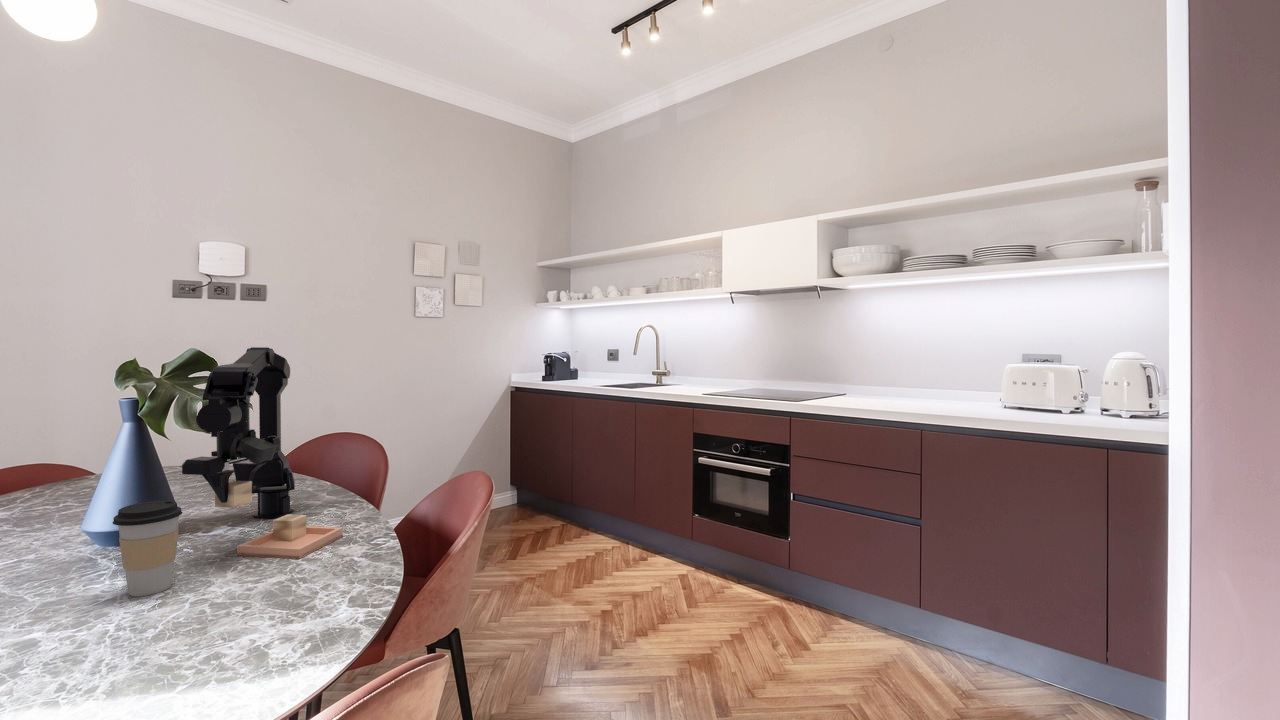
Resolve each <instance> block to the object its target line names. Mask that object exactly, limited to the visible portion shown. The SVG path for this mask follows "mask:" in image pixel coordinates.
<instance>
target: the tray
mask: <svg viewBox="0 0 1280 720" xmlns="http://www.w3.org/2000/svg"><path fill="white" fill-rule="evenodd" d="M343 535H344V528H343V527H334V526H333V527H332V526H331V527H330V526H312V525H306V535H305V536H303V537H300V538H298V539H296V540H294V541H275V540H273V530H272V531H270V532H267V533H265V534H263V535H260V536H257V537H256V538H253V539H250V540H248V541H246V542H244V543H241V544H238V545H237V548H236V550H237V551H236V552H237V553H236V555H237V556H240V557H255V558H257V557H258V558H276V559H278V558H279V559H289V560H290V559H292V560H293V559H294V560H301V559H302V558H304V557H306V556H308V555H310V554H312V553H314V552H315V551H317V550H319V549H321V548H323V547H325V546H327V545H329V544H331V543H333V542H335V541H337V540H339V539H341V538H343Z"/></svg>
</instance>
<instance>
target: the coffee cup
mask: <svg viewBox="0 0 1280 720" xmlns="http://www.w3.org/2000/svg"><path fill="white" fill-rule="evenodd" d="M182 514H183V511H182V507H180V506H178V502H177V501H175V500H154V501H153V500H152V501H145V502H139V503H134V504H129V505H126V506H123V507H121V508H119V509H118V510H117V515H115V516H114V517H113V521H112V525H115V526H117V527H118V532H119V536H118V540H119V542H118V543H119V549H120V553H121V561H122V567H123V569H124V575H125V580H126V586H127V592H128V595H129V596H131V597H145V596H151V595H155V594H158V593H161V592H163V591H166V590H168V589H170V588H171V587H172V584H173V583H172V581H173V574H174V564H175V560H176V556H177V547H178V539H179V530H180V528H179V520H180V516H181V515H182Z"/></svg>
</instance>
